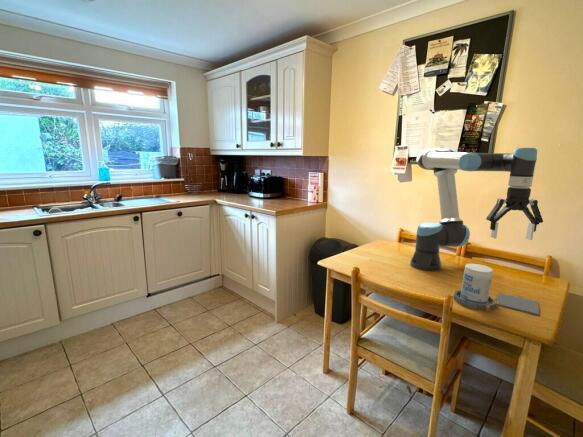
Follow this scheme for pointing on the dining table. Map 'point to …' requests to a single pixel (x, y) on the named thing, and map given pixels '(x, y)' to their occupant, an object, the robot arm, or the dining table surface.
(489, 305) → the collar
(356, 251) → the dining table surface
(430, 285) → the dining table surface
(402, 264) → the dining table surface
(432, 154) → the robot arm
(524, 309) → the trivet
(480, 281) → the supplement tub
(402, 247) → the dining table surface
